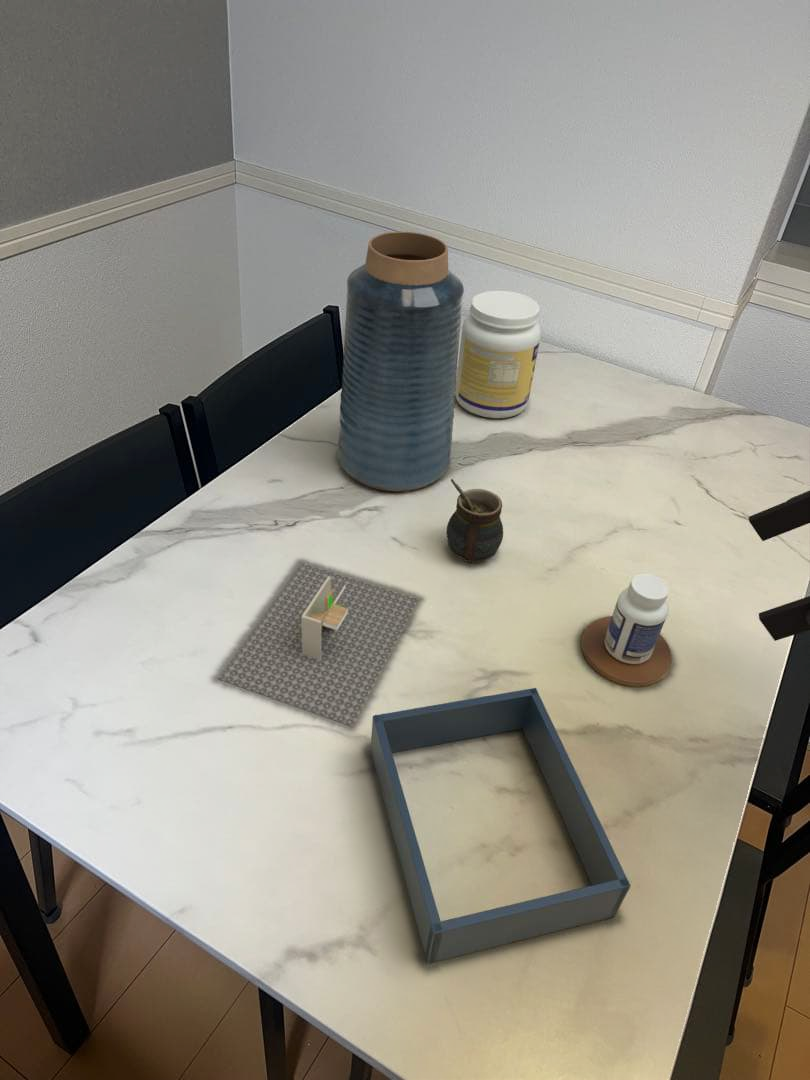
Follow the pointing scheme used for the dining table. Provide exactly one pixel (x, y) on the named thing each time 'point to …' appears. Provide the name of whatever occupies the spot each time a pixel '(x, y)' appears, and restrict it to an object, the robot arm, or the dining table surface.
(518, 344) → the supplement tub
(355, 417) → the vase
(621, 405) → the dining table surface
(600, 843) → the blue bottomless tray frame
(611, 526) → the dining table surface
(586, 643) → the coaster
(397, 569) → the dining table surface
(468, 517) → the mate gourd
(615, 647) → the pill bottle
